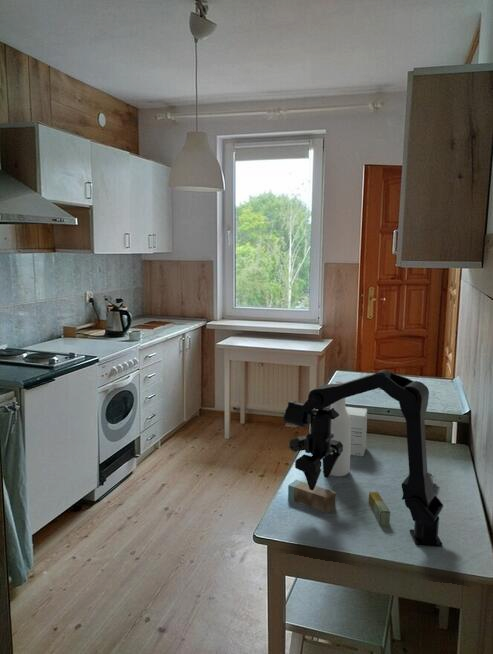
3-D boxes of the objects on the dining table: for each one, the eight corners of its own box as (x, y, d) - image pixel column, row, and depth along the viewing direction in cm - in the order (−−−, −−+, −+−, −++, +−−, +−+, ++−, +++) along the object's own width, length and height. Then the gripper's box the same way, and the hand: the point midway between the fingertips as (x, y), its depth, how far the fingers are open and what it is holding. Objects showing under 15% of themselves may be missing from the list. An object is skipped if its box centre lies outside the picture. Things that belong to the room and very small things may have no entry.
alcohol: (334, 463, 173) (336, 377, 168) (355, 472, 167) (358, 383, 162) (316, 470, 167) (319, 382, 163) (338, 480, 161) (341, 388, 156)
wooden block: (335, 492, 144) (296, 479, 151) (328, 498, 140) (288, 485, 148) (335, 506, 144) (295, 493, 152) (328, 513, 141) (288, 499, 148)
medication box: (389, 526, 135) (391, 512, 134) (379, 526, 135) (380, 512, 134) (376, 504, 147) (377, 490, 146) (367, 503, 146) (368, 490, 146)
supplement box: (341, 444, 190) (343, 405, 188) (366, 447, 187) (367, 408, 185) (338, 453, 181) (339, 413, 179) (363, 457, 179) (365, 416, 176)
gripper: (310, 416, 153) (308, 465, 156) (278, 434, 138) (277, 488, 141) (344, 423, 147) (342, 474, 150) (315, 443, 132) (313, 499, 134)
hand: (319, 483), depth 144 cm, fingers open, 9 cm apart
